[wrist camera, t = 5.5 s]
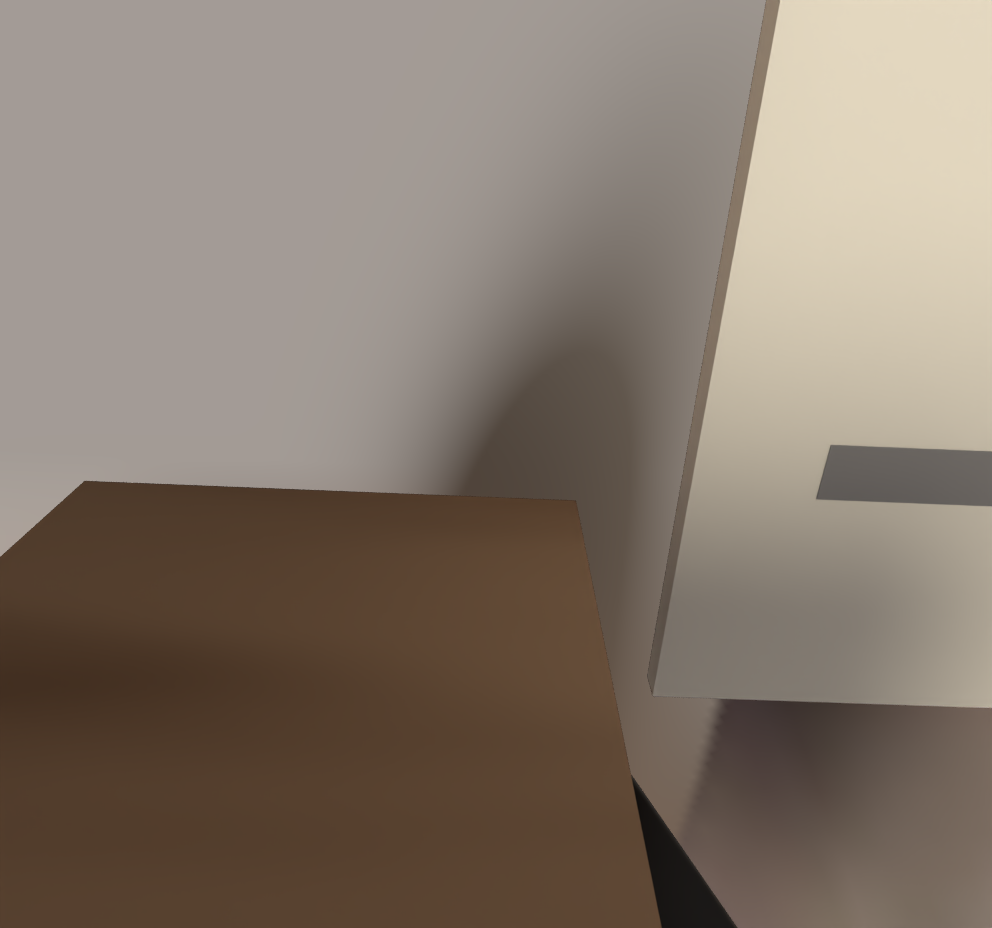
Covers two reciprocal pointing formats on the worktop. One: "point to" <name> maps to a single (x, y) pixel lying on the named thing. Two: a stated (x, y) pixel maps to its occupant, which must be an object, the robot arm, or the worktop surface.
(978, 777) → the worktop surface
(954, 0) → the letter
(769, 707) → the worktop surface
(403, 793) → the walnut block
